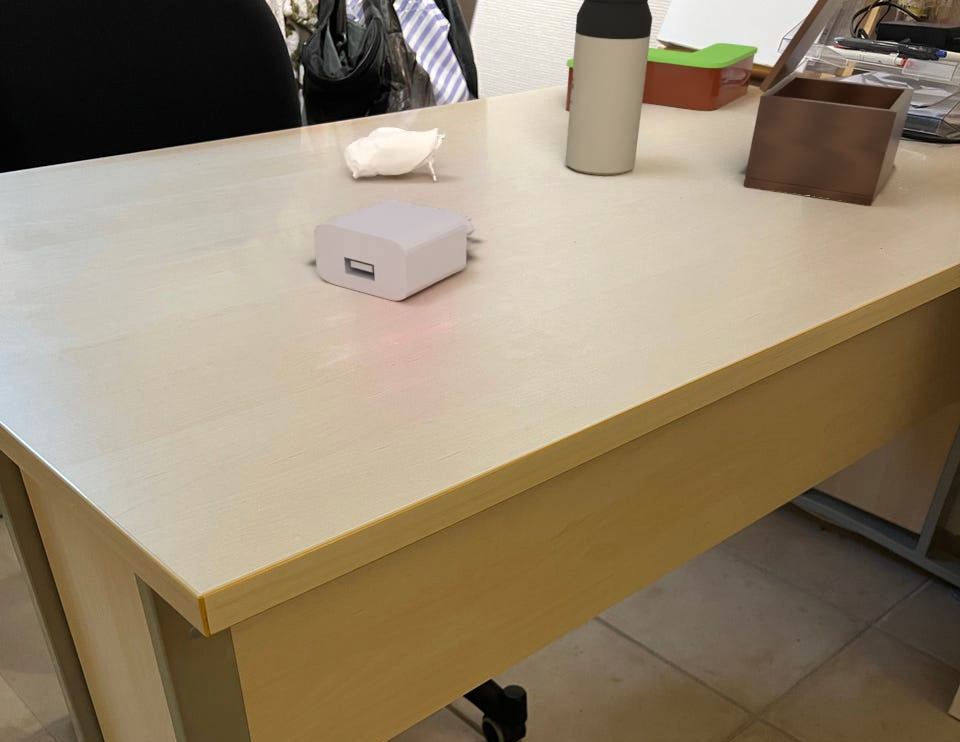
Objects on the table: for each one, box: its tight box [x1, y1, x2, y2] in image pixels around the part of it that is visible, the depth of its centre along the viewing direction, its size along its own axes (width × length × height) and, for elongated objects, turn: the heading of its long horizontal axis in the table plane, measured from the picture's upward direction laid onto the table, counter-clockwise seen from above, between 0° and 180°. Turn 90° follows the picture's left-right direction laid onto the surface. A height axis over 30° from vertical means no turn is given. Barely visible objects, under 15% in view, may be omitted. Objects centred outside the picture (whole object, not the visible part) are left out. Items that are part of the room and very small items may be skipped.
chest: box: [743, 74, 915, 207], centre depth 104 cm, size 14×14×9 cm
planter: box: [565, 42, 758, 112], centre depth 137 cm, size 30×18×6 cm, turn 150°
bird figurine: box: [343, 126, 446, 182], centre depth 102 cm, size 5×7×10 cm
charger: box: [313, 198, 476, 301], centre depth 81 cm, size 5×9×15 cm
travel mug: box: [565, 0, 653, 176], centre depth 103 cm, size 8×8×18 cm
